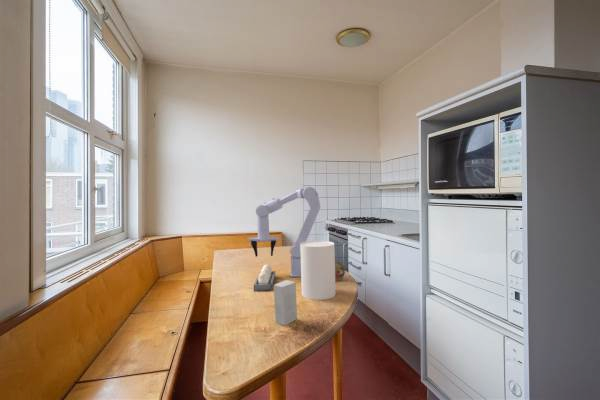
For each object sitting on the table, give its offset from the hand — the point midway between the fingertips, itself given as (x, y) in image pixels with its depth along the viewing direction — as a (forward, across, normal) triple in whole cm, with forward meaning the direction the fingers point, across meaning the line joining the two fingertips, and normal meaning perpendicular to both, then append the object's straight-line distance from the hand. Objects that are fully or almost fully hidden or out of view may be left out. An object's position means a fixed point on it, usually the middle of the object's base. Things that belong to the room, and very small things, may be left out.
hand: (264, 256), depth 144 cm
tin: (+10, +31, -12) cm, 35 cm away
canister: (+10, +25, -30) cm, 40 cm away
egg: (+9, +2, -21) cm, 23 cm away
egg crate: (+9, +2, -14) cm, 17 cm away
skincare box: (+10, +13, -54) cm, 56 cm away
